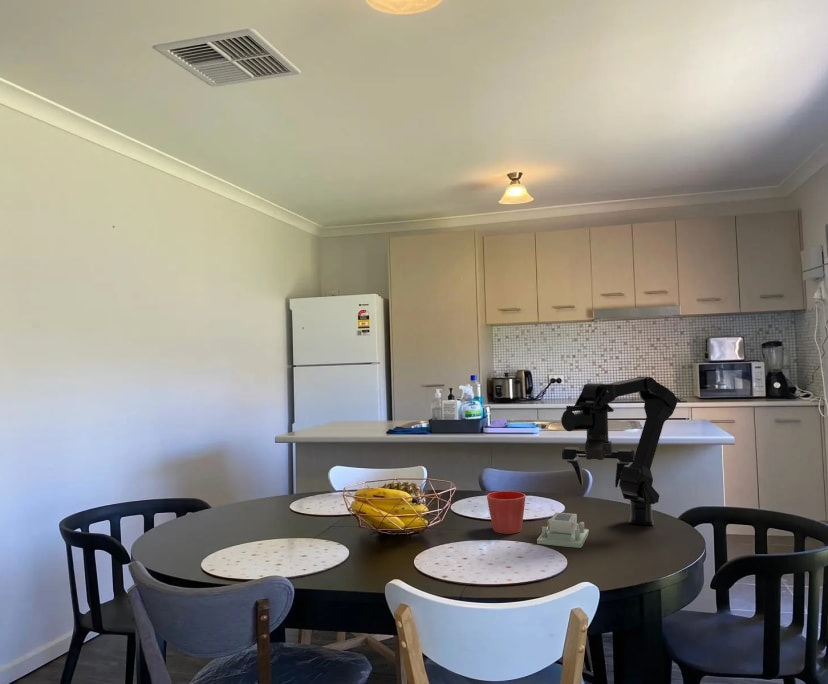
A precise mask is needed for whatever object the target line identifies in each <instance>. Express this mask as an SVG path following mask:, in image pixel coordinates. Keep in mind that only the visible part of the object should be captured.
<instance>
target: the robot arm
mask: <svg viewBox="0 0 828 684" xmlns="http://www.w3.org/2000/svg"><path fill="white" fill-rule="evenodd" d="M636 393H638V395H639V398H640V399H641V400H642V401H643V402H644V405H643V409H644V413H645V416H646V419H645V421H644V425H643V427H642V431H641V434H640V437H639V441H638V444H637V448H636V451H634V450H633V448H632V449H631V448H630V449H628V448H619V449H618V451H613V442H612V441H611V440H609V419H608V418H609V414H608V413H611V412H612V413H613V412H614V411H615V410H614V408H613V407H612V406H610V403H611V402H613V401H615V400H616V399H617V398H619V397H622V396H627V395H631V394H632V395H633V394H636ZM677 404H678V398H677V397H676V395H675V393H674V392H673V391H671V390H670V389H669V388H668V387H666V386H664V385H663V384H661V383H660V382H657V381H656V379H655V378H653V377H651V376H640V375H639V376H637V377H634V378H629V379H624V380H619V381H615V382H610V383H601V382H600V383H599V382H598V383H594V382H591V383H590V382H588V383H585V384H584V385H583V388H582V390H581V392H580V395H579V396H578V398H577V400H576V402H575V404H574V405H566V406H565V408H566V410H565V411H563V414H562V416H561V417H560V418H561V419H560V421H561V426H562V427H563V428H564V430H565V431H567V432H578V431H579V432H580V431H586V440H585V443H584V450H581V449H580V448H579V447H576V446H575V447H574V446H566V447H565V448H564V449H562V451H561V459H562V460H566V462H567V463H568V464H569V463H570V464H571V465H572V467H573V469H574V471H575V474H576V475H577V476H576V477H577V478H578V482H579V484H580V486H583V483H584V482H583V481H584V478H583V477H584V476H583V469H582V468H583V467H582V460H581V458H585V459H586V460H589V461H591V460H598V461H603V460H605V459H617V462H616V469H615V471H616V472H615V480H614V481H615V482H614V483H615V485H614V486H615V488H618V486H619V488H620V491H621V493H622V497H623V499H624V500H629V502H630V503H629V506H630V517H629V519H628V524H629V525H640V526H651V527H652V526H654V524H655V523H654V522H655V519H654V518H653V508H652V507H653V505H655V504H658V503H659V500H660V493H658V491H656V489H655V488H654V486H653V482H654V478H653V474H652V471H651V468H652V464H653V461H654V458H655V454H656V451H657V447H658V444H659V441H660V437H661V434H662V431H663V427H664V424H665V422H666V421H667V420H668V419H669V418H670V417H671V416H672V415H673V413H674V412H675V409H676V407H677ZM630 463H631V464H630Z"/></svg>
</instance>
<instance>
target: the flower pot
mask: <svg viewBox="0 0 828 684" xmlns="http://www.w3.org/2000/svg"><path fill="white" fill-rule="evenodd" d="M486 498H487V504H488V505H487V506H488V510H489V515H490V521H491V525H492V529H493V531H494V532H495V533H499V534H508V535H510V534H516V533H518V532H519V533H520V532H521V531H522V528H523V521H524V515H525V514H524V513H525V506H526V505H525V504H526V494H525V493H523V492H520V491H512V490H507V491H505V490H502V491H499V490H498V491H494V492H489V493H488V494H487V495H486Z"/></svg>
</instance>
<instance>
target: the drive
mask: <svg viewBox="0 0 828 684" xmlns="http://www.w3.org/2000/svg"><path fill="white" fill-rule="evenodd" d="M577 515H578V514H577V513H567V512H566V513H565V512H555V513H554V514H553V515H552V517H551V518H550V520H549V519H548V520H549V522H550V533H552V534H563V535H572V539H573V537H574V535H575V530H576V529H577V523H578V521H577V520H578V519H577V517H578V516H577Z"/></svg>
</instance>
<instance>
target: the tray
mask: <svg viewBox="0 0 828 684" xmlns="http://www.w3.org/2000/svg"><path fill="white" fill-rule="evenodd" d="M550 519H551V518H550ZM550 519H547V526H544V525H543V526H541V534H540V535H539V536H538V538H537V539H536V544H539V545H547V546H556V547H557V546H558V547H567V548H568V547H569V548H577V549H579V548H580V549H581V548H582V547H583V545H584V543H585V541H586V540H587V537H588V535H589V531H590V529H587V528H585V522H584V521H580V522H579V523H578V522H577V529H576V530H575V535H574V537H573V539H572V535H563V534H552V533H550V522H549V520H550Z"/></svg>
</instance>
